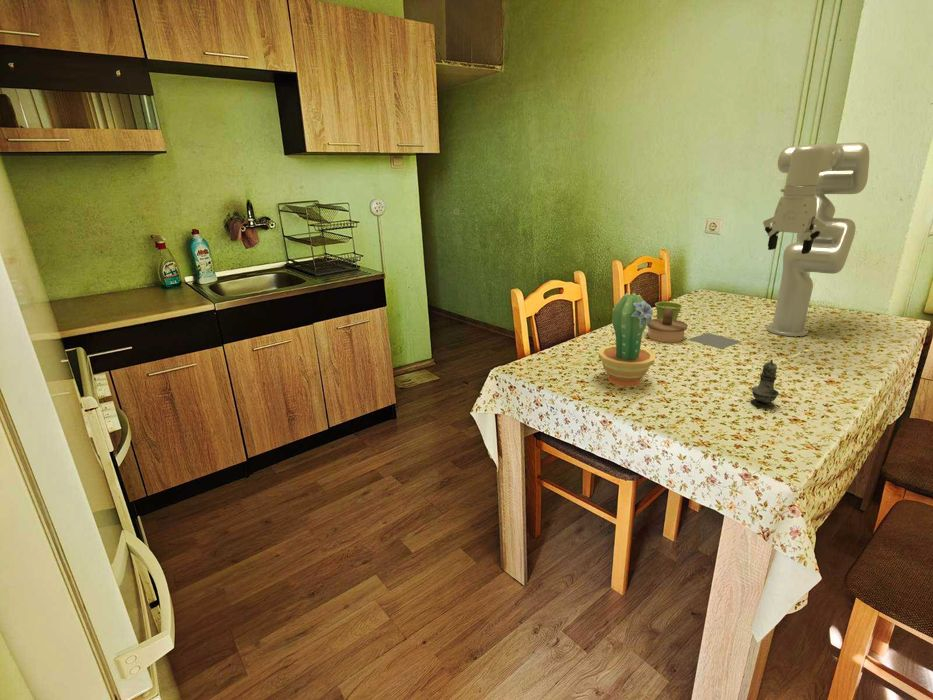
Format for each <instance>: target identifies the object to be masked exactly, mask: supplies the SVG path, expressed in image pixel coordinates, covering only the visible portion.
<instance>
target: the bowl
mask: <svg viewBox="0 0 933 700" xmlns="http://www.w3.org/2000/svg"><path fill="white" fill-rule="evenodd" d="M647 330H648V331H647V332H648V333H647V336H648V339H650V340H654V341H655V342H656V341H657V342H660V343H679V342H681V341H684V336H685V330H684V331H680V332H665V331H658V330H654V329H651V328H649V327H648V329H647Z"/></svg>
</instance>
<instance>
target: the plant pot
mask: <svg viewBox="0 0 933 700" xmlns="http://www.w3.org/2000/svg"><path fill="white" fill-rule="evenodd" d="M654 306H655V309H656V319H663V314H664V309H672V310H673V318H672V319H673V320H677V319H678V317H679V313H680V312H681V309H683V305H682V304H680V303H677V302H673V301H671V302H670V301H657V302H656V303H654Z"/></svg>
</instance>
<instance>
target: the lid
mask: <svg viewBox="0 0 933 700" xmlns="http://www.w3.org/2000/svg"><path fill="white" fill-rule="evenodd" d="M672 318H673V310H672V309H664V314H663V319H657V318H654V319H653V318H652V320H651V324H649V322H647V325H646V327H648V329H649V328H651V329H654V330H658V331H665V332H680V331H684V332H685V331H686V330H687V329H688V324H687V323H686V322H684V321H681V320H673V319H672Z"/></svg>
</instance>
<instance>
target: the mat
mask: <svg viewBox="0 0 933 700" xmlns="http://www.w3.org/2000/svg"><path fill="white" fill-rule="evenodd" d="M687 340H688V341H691V342H695V343H699V344H702V345H705V346H709V347H711V348H716V349H720V350H723V349H725V348H729V347H731V346H734V345H737V344H739V343H742V341H741V340H737V339H733V338H729V337H726V336H721V335H719V334H718V335H717V334H715V333H714V334H713V333H711V332H707V333H703V334H701V335H697V336H694V337H691V338H688V339H687Z"/></svg>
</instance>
